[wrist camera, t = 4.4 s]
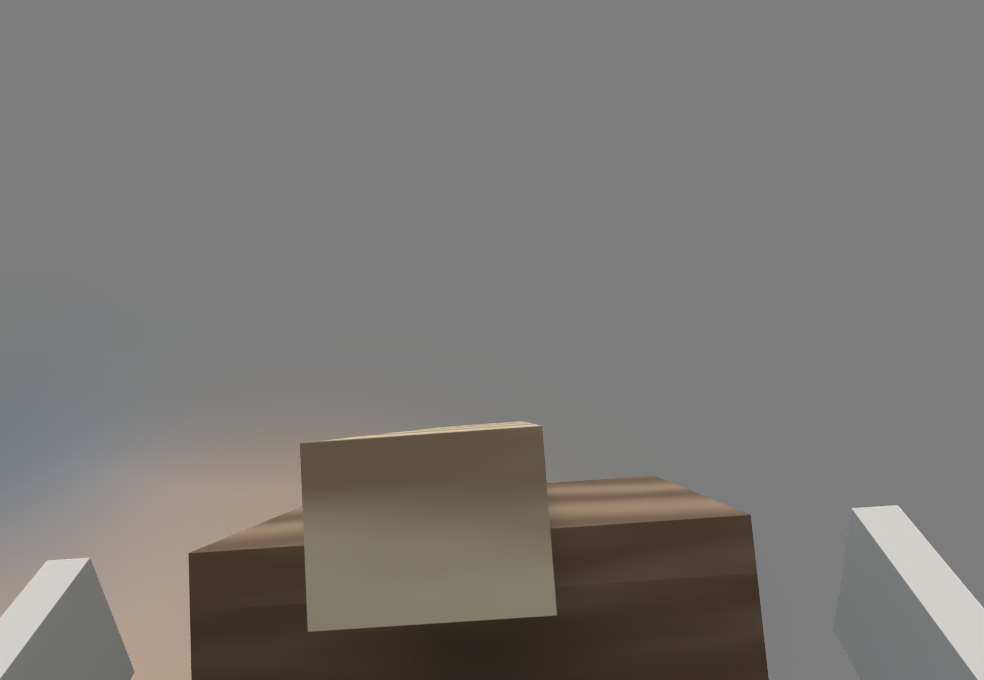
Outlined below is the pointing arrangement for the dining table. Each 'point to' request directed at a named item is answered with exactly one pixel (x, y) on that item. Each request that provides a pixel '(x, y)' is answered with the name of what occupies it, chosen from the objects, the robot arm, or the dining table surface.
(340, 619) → the pine slat
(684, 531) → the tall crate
